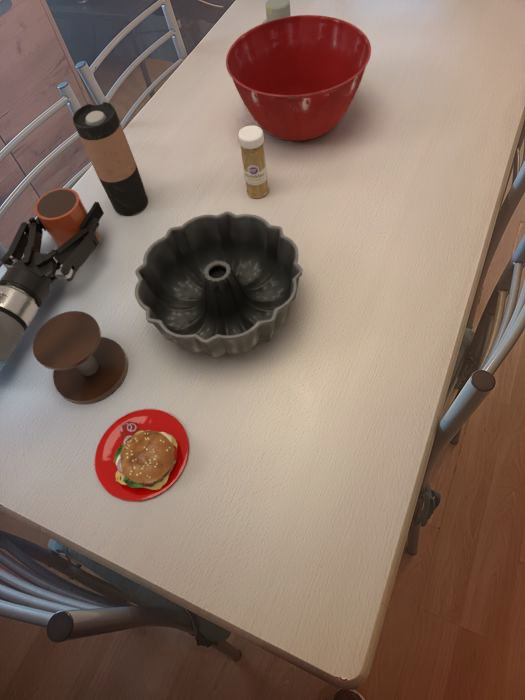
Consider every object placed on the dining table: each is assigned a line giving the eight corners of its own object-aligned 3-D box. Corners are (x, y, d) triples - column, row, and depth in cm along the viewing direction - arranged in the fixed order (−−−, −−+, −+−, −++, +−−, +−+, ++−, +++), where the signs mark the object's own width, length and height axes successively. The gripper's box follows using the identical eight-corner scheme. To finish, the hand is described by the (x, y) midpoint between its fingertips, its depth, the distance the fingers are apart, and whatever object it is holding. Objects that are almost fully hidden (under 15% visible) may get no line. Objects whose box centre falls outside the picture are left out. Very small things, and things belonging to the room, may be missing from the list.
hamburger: (198, 415, 76) (190, 398, 71) (175, 508, 69) (164, 496, 64) (113, 405, 78) (98, 388, 73) (82, 494, 71) (63, 481, 66)
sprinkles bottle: (248, 201, 99) (239, 142, 88) (245, 186, 102) (235, 127, 90) (271, 196, 99) (265, 137, 88) (267, 181, 102) (260, 122, 90)
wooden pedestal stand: (43, 395, 80) (10, 364, 72) (77, 334, 86) (50, 299, 78) (108, 411, 78) (82, 381, 69) (139, 347, 83) (118, 312, 75)
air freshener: (268, 58, 126) (264, 15, 117) (254, 44, 130) (250, 1, 122) (306, 45, 127) (305, 1, 119) (292, 31, 132) (290, -12, 123)
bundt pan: (202, 234, 96) (190, 193, 87) (328, 276, 87) (329, 235, 79) (122, 340, 85) (100, 305, 76) (258, 399, 76) (250, 367, 68)
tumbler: (51, 254, 97) (25, 216, 88) (71, 224, 101) (48, 185, 92) (88, 261, 95) (65, 222, 87) (106, 230, 99) (86, 190, 91)
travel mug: (128, 222, 100) (89, 133, 83) (105, 206, 103) (63, 117, 86) (157, 201, 102) (124, 110, 85) (133, 186, 105) (97, 95, 88)
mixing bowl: (385, 145, 104) (394, 71, 91) (253, 178, 103) (243, 108, 90) (340, 74, 119) (343, 2, 106) (225, 102, 118) (213, 33, 105)
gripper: (62, 293, 79) (121, 195, 90) (-46, 273, 84) (22, 182, 95) (81, 320, 86) (134, 226, 96) (-20, 300, 90) (41, 212, 101)
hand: (79, 204), depth 96 cm, fingers closed on tumbler, 8 cm apart
